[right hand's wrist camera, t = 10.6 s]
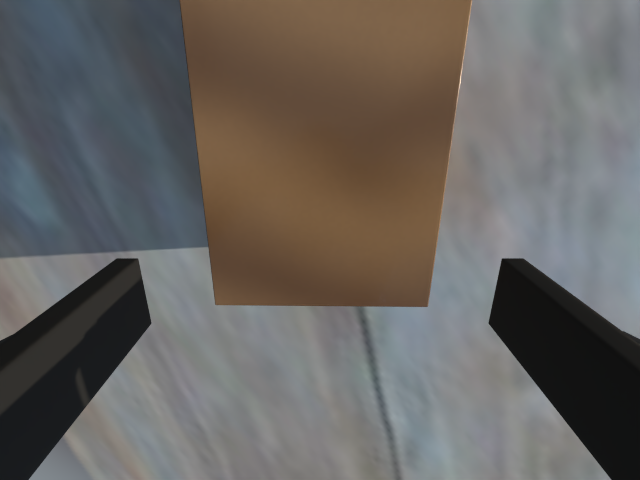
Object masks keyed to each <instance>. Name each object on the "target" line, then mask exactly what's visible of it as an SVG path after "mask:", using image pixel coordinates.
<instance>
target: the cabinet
mask: <svg viewBox="0 0 640 480" xmlns="http://www.w3.org/2000/svg"><path fill="white" fill-rule="evenodd" d="M471 4H472V0H180V9H181V17H182V26H183V34H184V43H185V51H186V60H187V68H188V77H189V85H190V94H191V102H192V111H193V119H194V127H195V136H196V144H197V153H198V161H199V170H200V178H201V187H202V195H203V204H204V212H205V221H206V229H207V238H208V246H209V255H210V263H211V272H212V280H213V289H214V297H215V305H276V306H390V307H428V302H429V295H430V288H431V281H432V275H433V268H434V261H435V254H436V247H437V240H438V233H439V226H440V219H441V212H442V205H443V198H444V191H445V184H446V178H447V171H448V164H449V157H450V150H451V143H452V136H453V129H454V122H455V115H456V108H457V101H458V94H459V87H460V80H461V74H462V67H463V60H464V53H465V46H466V39H467V32H468V25H469V18H470V11H471Z"/></svg>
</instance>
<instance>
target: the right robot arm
mask: <svg viewBox="0 0 640 480" xmlns="http://www.w3.org/2000/svg"><path fill="white" fill-rule="evenodd" d="M150 325H151V319H150V314H149V309H148V304H147V300H146V295H145V290H144V285H143V280H142V275H141V271H140V266H139V261H138V259H115V260H114V261H113V262H111V263H110V264H109V265H107V266H106V267H105V268H103V269H102V270H101V271H99V272H98V273H96V274H95V275H94V276H92V277H91V278H90V279H88V280H87V281H86V282H84V283H83V284H81V285H80V286H79V287H77V288H76V289H75V290H73V291H72V292H71V293H69V294H68V295H67V296H65V297H64V298H62V299H61V300H60V301H58V302H57V303H56V304H54V305H53V306H52V307H50V308H49V309H47V310H46V311H45V312H43V313H42V314H41V315H39V316H38V317H37V318H35V319H34V320H33V321H31V322H30V323H28V324H27V325H26V326H24V327H23V328H22V329H20V330H19V331H18V332H16V333H15V334H13V335H11V336H9V337H7V338H5V339H3V340H1V341H0V480H29V478H30V477H31V476H32V474H33V473H34V472H35V471H36V469H37V468H38V467H39V466H40V464H41V463H42V462H43V460H44V459H45V458H46V457H47V455H48V454H49V453H50V452H51V450H52V449H53V448H54V447H55V445H56V444H57V443H58V441H59V440H60V439H61V438H62V436H63V435H64V434H65V433H66V431H67V430H68V429H69V427H70V426H71V425H72V424H73V422H74V421H75V420H76V419H77V417H78V416H79V415H80V413H81V412H82V411H83V410H84V408H85V407H86V406H87V405H88V403H89V402H90V401H91V400H92V398H93V397H94V396H95V394H96V393H97V392H98V391H99V389H100V388H101V387H102V386H103V384H104V383H105V382H106V380H107V379H108V378H109V377H110V375H111V374H112V373H113V372H114V370H115V369H116V368H117V366H118V365H119V364H120V363H121V361H122V360H123V359H124V358H125V356H126V355H127V354H128V352H129V351H130V350H131V349H132V347H133V346H134V345H135V344H136V342H137V341H138V340H139V339H140V337H141V336H142V335H143V333H144V332H145V331H146V330H147V328H148V327H149V326H150ZM489 325H490V326H491V327H492V328H493V330H494V331H495V332H496V333H497V335H498V336H499V337H500V339H501V340H502V341H503V342H504V344H505V345H506V346H507V347H508V349H509V350H510V351H511V352H512V354H513V355H514V356H515V358H516V359H517V360H518V361H519V363H520V364H521V365H522V366H523V368H524V369H525V370H526V372H527V373H528V374H529V375H530V377H531V378H532V379H533V380H534V382H535V383H536V384H537V386H538V387H539V388H540V389H541V391H542V392H543V393H544V394H545V396H546V397H547V398H548V400H549V401H550V402H551V403H552V405H553V406H554V407H555V408H556V410H557V411H558V412H559V413H560V415H561V416H562V417H563V419H564V420H565V421H566V422H567V424H568V425H569V426H570V427H571V429H572V430H573V431H574V433H575V434H576V435H577V436H578V438H579V439H580V440H581V441H582V443H583V444H584V445H585V447H586V448H587V449H588V450H589V452H590V453H591V454H592V455H593V457H594V458H595V459H596V461H597V462H598V463H599V464H600V466H601V467H602V468H603V469H604V471H605V472H606V473H607V474H608V476H609V477H610V478H611V480H640V339H638V338H636V337H634V336H632V335H630V334H628V333H626V332H624V331H621V330H620V329H618V328H617V327H616V326H614V325H613V324H612V323H610V322H609V321H607V320H606V319H605V318H603V317H602V316H601V315H599V314H598V313H597V312H595V311H594V310H593V309H591V308H590V307H588V306H587V305H586V304H584V303H583V302H582V301H580V300H579V299H578V298H576V297H575V296H573V295H572V294H571V293H569V292H568V291H567V290H565V289H564V288H563V287H561V286H560V285H559V284H557V283H556V282H554V281H553V280H552V279H550V278H549V277H548V276H546V275H545V274H544V273H542V272H541V271H539V270H538V269H537V268H535V267H534V266H533V265H531V264H530V263H529V262H527V261H526V260H525V259H502V261H501V266H500V271H499V275H498V280H497V285H496V290H495V295H494V300H493V304H492V309H491V314H490V319H489Z"/></svg>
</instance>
